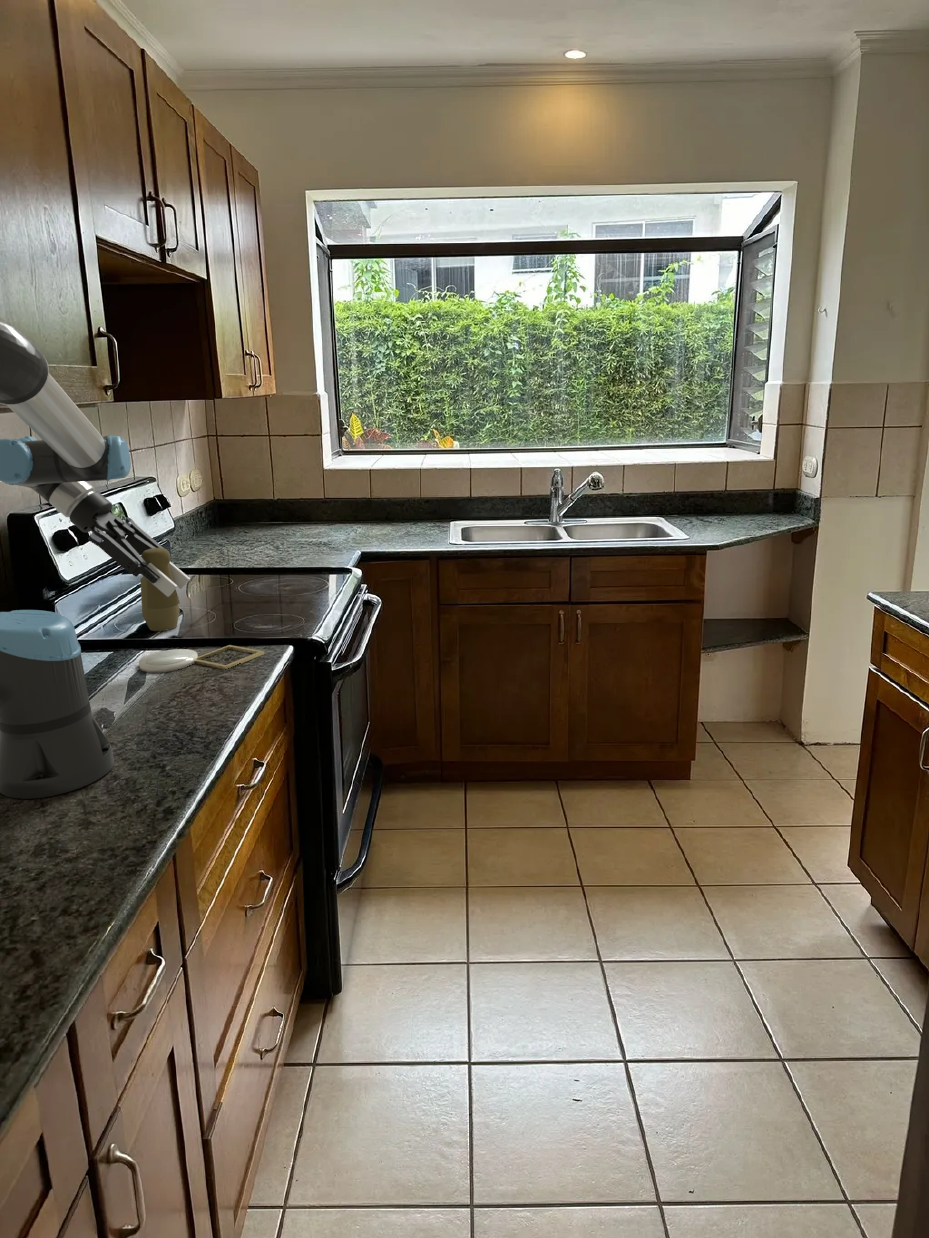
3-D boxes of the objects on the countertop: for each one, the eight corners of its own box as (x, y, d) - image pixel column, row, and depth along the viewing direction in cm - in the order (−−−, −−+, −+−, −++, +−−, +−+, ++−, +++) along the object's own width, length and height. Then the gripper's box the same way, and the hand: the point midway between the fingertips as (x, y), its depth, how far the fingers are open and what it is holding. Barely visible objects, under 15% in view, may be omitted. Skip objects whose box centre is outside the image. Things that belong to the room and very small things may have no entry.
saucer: (164, 675, 157) (163, 670, 157) (127, 667, 163) (126, 662, 162) (209, 658, 166) (209, 652, 165) (173, 651, 172) (172, 645, 171)
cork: (178, 599, 165) (170, 544, 162) (180, 606, 159) (172, 549, 156) (146, 603, 163) (137, 547, 159) (147, 610, 157) (137, 553, 154)
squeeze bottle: (158, 635, 183) (145, 555, 178) (137, 630, 188) (124, 552, 183) (189, 625, 189) (177, 548, 184) (168, 621, 194) (156, 545, 189)
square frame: (225, 669, 158) (225, 666, 158) (190, 662, 164) (190, 659, 164) (264, 654, 166) (264, 651, 166) (229, 647, 172) (229, 644, 172)
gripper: (96, 511, 166) (187, 589, 169) (44, 528, 149) (146, 614, 152) (117, 484, 164) (209, 563, 167) (66, 497, 147) (170, 585, 150)
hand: (179, 587), depth 160 cm, fingers closed on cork, 5 cm apart
